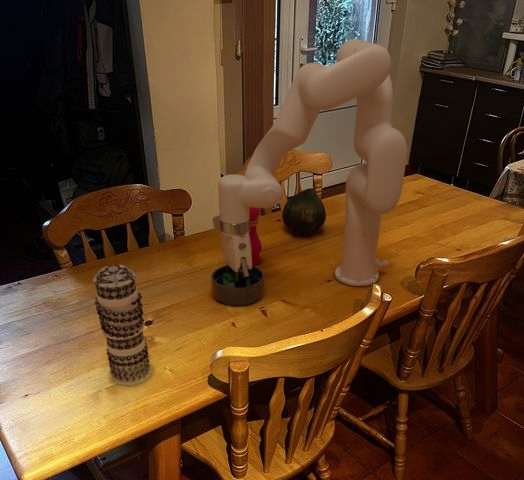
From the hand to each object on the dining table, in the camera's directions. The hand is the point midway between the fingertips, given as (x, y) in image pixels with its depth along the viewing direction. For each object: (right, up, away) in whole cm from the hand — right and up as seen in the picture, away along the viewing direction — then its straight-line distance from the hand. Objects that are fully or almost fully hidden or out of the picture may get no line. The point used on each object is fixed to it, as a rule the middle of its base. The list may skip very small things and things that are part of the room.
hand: (236, 288), depth 146 cm
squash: (+21, +23, +35) cm, 47 cm away
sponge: (0, 0, 0) cm, 0 cm away
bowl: (0, -2, 0) cm, 2 cm away
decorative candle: (-22, -22, -29) cm, 43 cm away
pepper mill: (+3, +10, +16) cm, 19 cm away
